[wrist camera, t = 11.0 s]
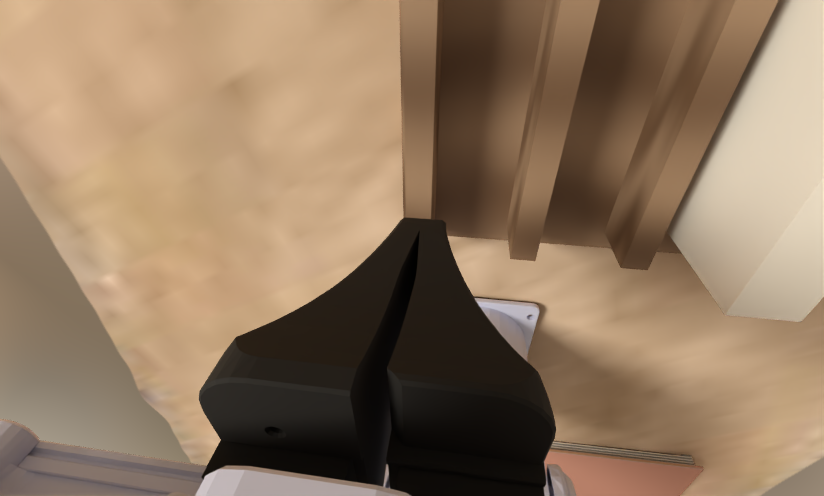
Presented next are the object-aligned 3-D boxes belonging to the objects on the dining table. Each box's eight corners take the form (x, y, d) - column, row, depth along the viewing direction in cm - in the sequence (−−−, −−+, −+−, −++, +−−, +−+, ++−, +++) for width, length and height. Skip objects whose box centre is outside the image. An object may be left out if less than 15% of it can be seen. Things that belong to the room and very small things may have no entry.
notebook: (407, 487, 48) (405, 505, 47) (399, 416, 38) (395, 436, 37) (637, 518, 45) (643, 539, 43) (694, 449, 34) (705, 472, 33)
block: (707, 216, 19) (800, 322, 14) (654, 213, 19) (725, 315, 14) (886, -110, 12) (1245, -172, 6) (797, -109, 12) (1066, -165, 7)
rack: (725, 246, 21) (769, 296, 18) (406, 223, 23) (395, 264, 20) (1020, -231, 11) (1242, -309, 8) (400, -200, 13) (375, -251, 10)
